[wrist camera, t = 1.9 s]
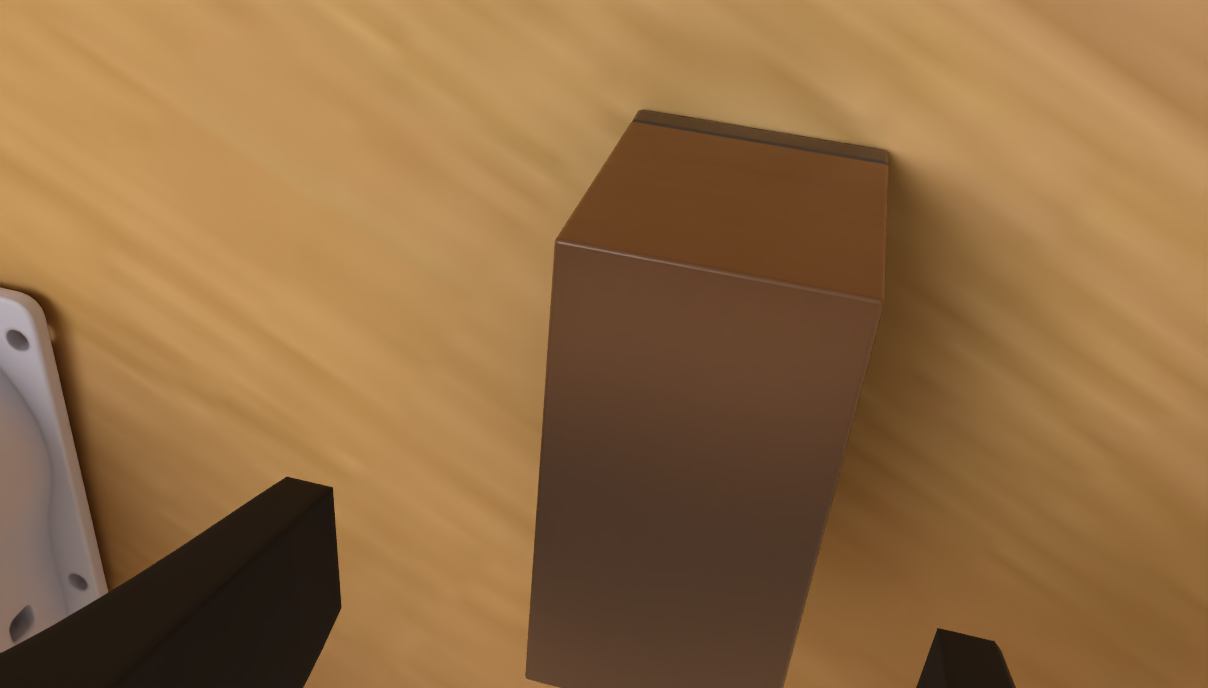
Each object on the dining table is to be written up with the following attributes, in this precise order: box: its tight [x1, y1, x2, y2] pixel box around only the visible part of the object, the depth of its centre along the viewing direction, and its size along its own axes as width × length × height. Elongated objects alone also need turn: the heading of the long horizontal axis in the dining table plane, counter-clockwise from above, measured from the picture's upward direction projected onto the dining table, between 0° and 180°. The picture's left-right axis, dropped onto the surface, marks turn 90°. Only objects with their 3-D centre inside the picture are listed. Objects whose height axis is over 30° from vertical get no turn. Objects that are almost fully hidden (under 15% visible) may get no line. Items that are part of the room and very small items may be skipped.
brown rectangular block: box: [525, 110, 889, 688], centre depth 17 cm, size 8×4×5 cm, turn 175°
